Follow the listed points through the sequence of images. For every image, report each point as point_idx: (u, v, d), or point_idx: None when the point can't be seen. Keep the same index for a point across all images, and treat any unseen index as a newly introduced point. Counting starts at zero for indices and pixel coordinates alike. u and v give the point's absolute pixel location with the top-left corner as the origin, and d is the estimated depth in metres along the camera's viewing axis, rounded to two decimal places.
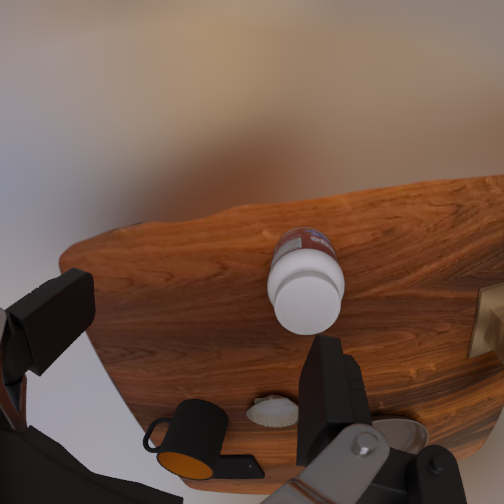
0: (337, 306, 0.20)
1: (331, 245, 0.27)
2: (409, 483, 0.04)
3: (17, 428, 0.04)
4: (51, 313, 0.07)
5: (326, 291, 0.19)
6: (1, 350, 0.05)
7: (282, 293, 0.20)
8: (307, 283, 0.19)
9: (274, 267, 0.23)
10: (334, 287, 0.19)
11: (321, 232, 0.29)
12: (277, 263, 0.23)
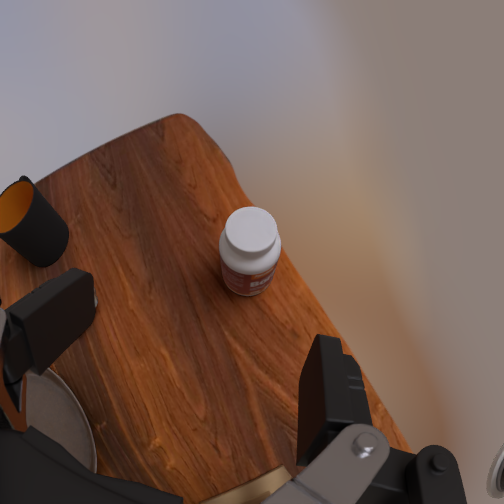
0: (260, 247, 0.26)
1: (270, 280, 0.34)
2: (409, 483, 0.04)
3: (17, 428, 0.04)
4: (51, 313, 0.07)
5: (269, 235, 0.26)
6: (1, 350, 0.05)
7: (256, 209, 0.27)
8: (270, 221, 0.27)
9: None
10: (274, 240, 0.26)
11: None
12: None
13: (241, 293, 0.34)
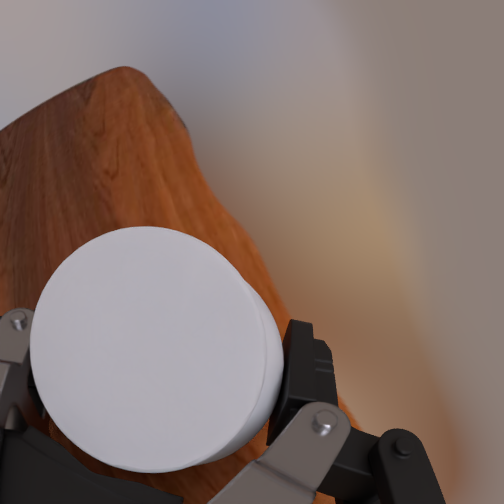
0: (173, 458, 0.04)
1: None
2: (373, 466, 0.05)
3: None
4: None
5: (222, 393, 0.04)
6: (28, 355, 0.05)
7: (165, 238, 0.05)
8: (228, 308, 0.05)
9: None
10: (247, 418, 0.04)
11: None
12: None
13: None
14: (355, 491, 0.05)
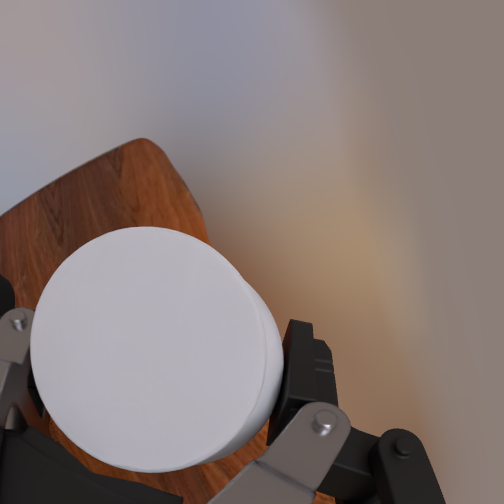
0: (173, 458, 0.04)
1: None
2: (373, 466, 0.05)
3: None
4: None
5: (223, 393, 0.04)
6: (28, 355, 0.05)
7: (165, 238, 0.05)
8: (228, 307, 0.05)
9: None
10: (247, 418, 0.04)
11: None
12: None
13: None
14: (355, 491, 0.05)
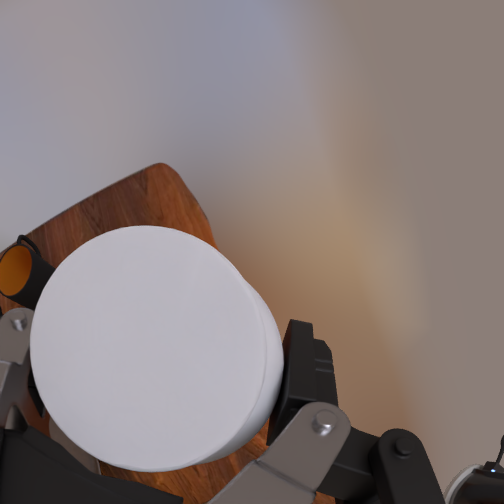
0: (173, 457, 0.04)
1: None
2: (373, 466, 0.05)
3: None
4: None
5: (222, 392, 0.04)
6: (28, 355, 0.05)
7: (165, 238, 0.05)
8: (228, 307, 0.05)
9: None
10: (247, 417, 0.04)
11: None
12: None
13: None
14: (355, 491, 0.05)
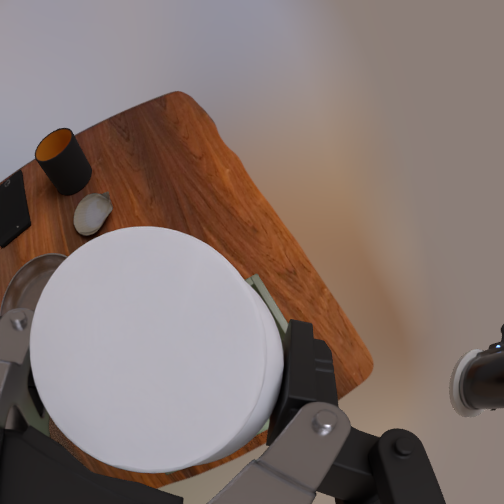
0: (173, 458, 0.04)
1: None
2: (373, 466, 0.05)
3: None
4: None
5: (222, 393, 0.04)
6: (28, 355, 0.05)
7: (165, 238, 0.05)
8: (228, 307, 0.05)
9: None
10: (247, 418, 0.04)
11: None
12: None
13: None
14: (355, 491, 0.05)
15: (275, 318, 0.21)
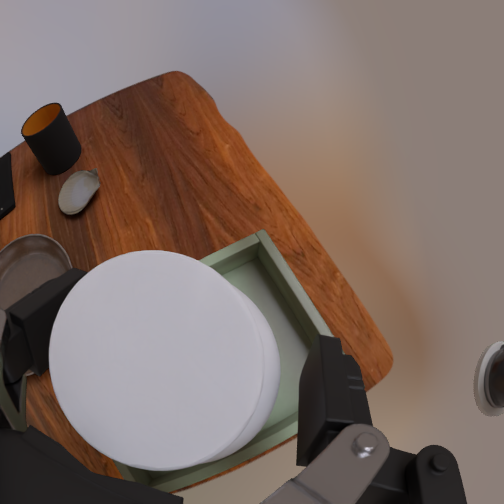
0: (183, 457, 0.04)
1: None
2: (409, 483, 0.04)
3: (17, 428, 0.04)
4: (51, 313, 0.07)
5: (226, 400, 0.05)
6: (1, 350, 0.05)
7: (173, 262, 0.06)
8: (231, 326, 0.06)
9: None
10: (247, 422, 0.05)
11: None
12: None
13: None
14: None
15: (289, 287, 0.15)
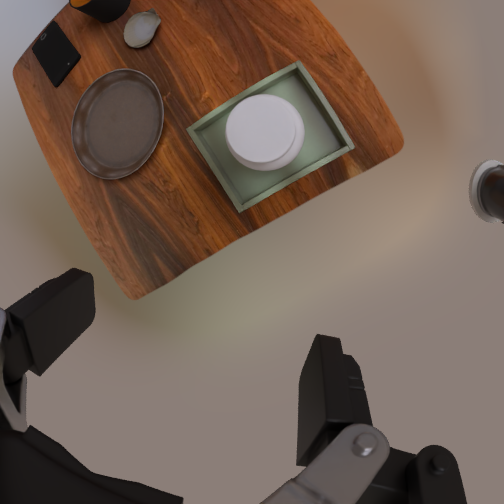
0: (273, 156, 0.19)
1: None
2: (409, 483, 0.04)
3: (17, 428, 0.04)
4: (51, 313, 0.07)
5: (285, 138, 0.18)
6: (1, 350, 0.05)
7: (266, 99, 0.18)
8: (285, 117, 0.18)
9: (273, 95, 0.20)
10: (291, 145, 0.19)
11: None
12: None
13: None
14: None
15: (314, 91, 0.25)
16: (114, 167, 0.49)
